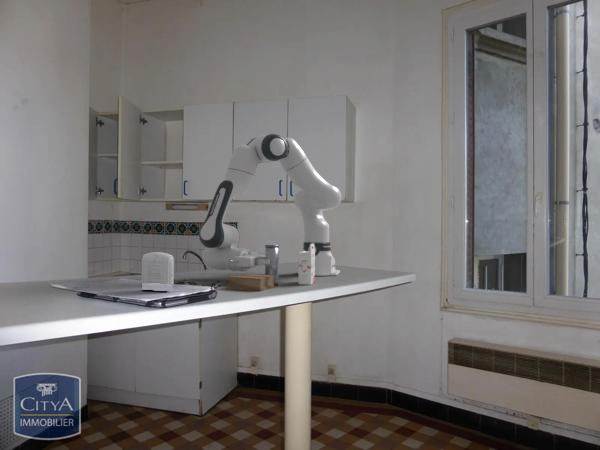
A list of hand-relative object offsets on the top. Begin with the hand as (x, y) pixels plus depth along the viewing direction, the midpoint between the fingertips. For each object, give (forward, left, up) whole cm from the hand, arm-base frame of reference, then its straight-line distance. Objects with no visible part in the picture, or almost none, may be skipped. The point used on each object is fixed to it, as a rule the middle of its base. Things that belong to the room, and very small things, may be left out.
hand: (274, 261), depth 159 cm
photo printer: (+35, -24, -8) cm, 43 cm away
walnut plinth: (+16, -1, -8) cm, 18 cm away
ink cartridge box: (-5, +11, -8) cm, 15 cm away
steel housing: (0, -1, -8) cm, 8 cm away
